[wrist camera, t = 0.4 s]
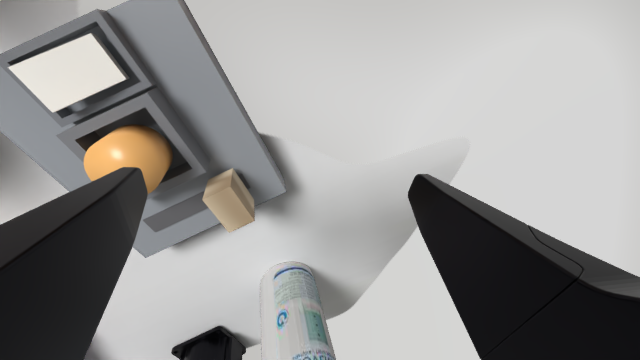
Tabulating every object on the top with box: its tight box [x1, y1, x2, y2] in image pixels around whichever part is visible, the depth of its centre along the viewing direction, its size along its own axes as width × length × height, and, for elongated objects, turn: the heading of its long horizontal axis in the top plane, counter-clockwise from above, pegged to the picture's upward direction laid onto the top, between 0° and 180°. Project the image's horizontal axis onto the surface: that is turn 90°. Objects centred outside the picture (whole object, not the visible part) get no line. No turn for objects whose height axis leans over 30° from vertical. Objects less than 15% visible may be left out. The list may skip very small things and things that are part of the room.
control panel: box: [0, 0, 286, 258], centre depth 18 cm, size 13×15×4 cm
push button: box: [84, 124, 173, 194], centre depth 15 cm, size 4×4×2 cm
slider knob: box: [202, 168, 254, 233], centre depth 19 cm, size 2×3×3 cm, turn 22°
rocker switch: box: [8, 33, 129, 113], centre depth 14 cm, size 4×2×1 cm, turn 112°
